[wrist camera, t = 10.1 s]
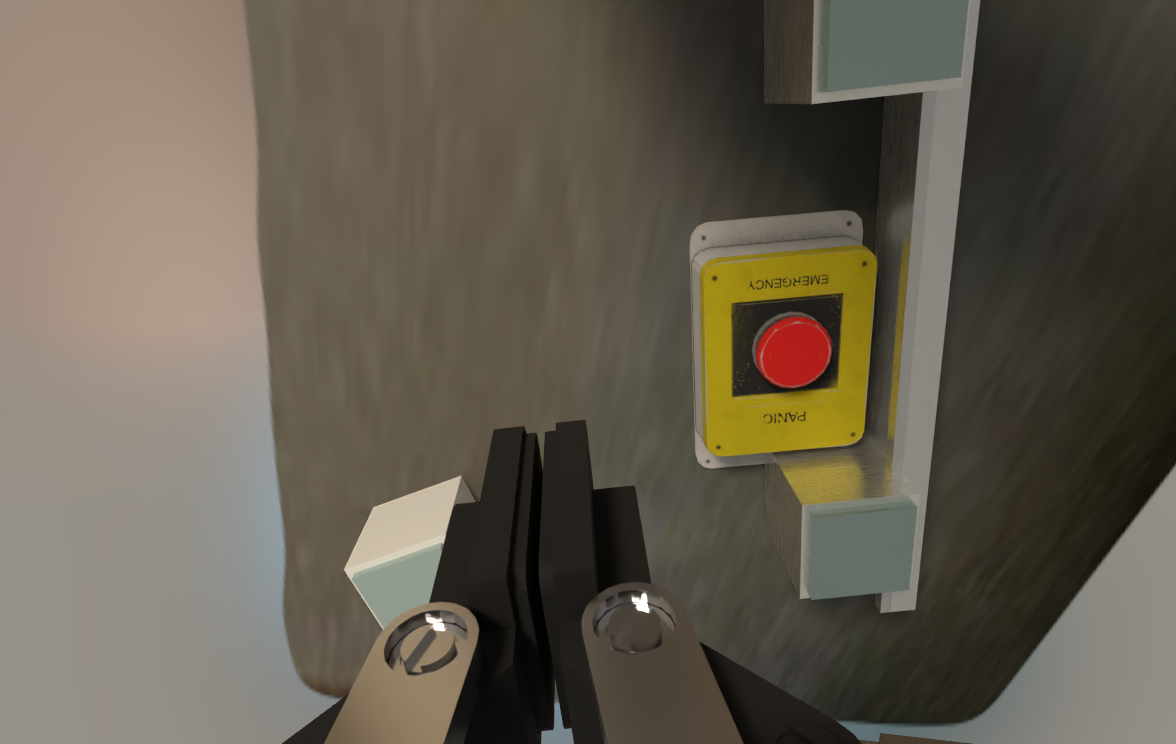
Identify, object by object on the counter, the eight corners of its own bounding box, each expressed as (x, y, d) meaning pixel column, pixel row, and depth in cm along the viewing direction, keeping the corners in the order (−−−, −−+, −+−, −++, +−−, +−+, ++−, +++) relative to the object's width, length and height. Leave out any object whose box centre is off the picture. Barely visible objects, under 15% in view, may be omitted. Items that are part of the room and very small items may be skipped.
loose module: (373, 506, 41) (340, 575, 35) (461, 475, 41) (443, 539, 35) (410, 567, 43) (385, 642, 37) (495, 538, 43) (483, 610, 37)
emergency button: (897, 219, 32) (873, 489, 37) (859, 206, 36) (843, 451, 41) (702, 237, 32) (707, 504, 37) (687, 221, 36) (694, 464, 41)
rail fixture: (763, -127, 30) (824, -198, 23) (932, -146, 29) (1047, -223, 22) (764, 567, 44) (802, 656, 37) (878, 555, 44) (937, 642, 37)
